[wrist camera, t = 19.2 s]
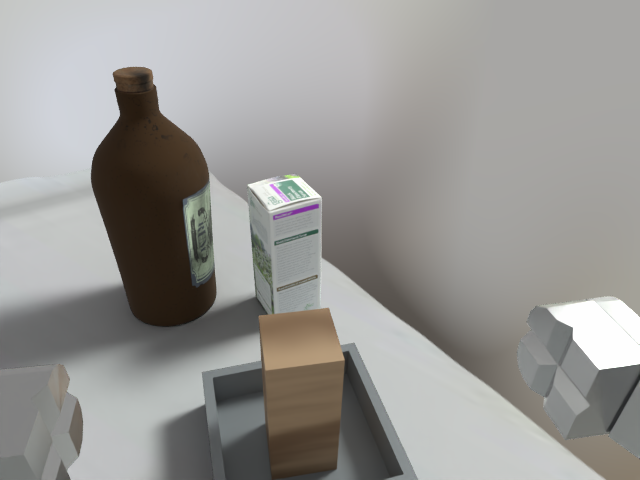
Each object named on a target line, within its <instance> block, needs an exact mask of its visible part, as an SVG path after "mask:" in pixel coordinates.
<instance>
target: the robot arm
mask: <svg viewBox="0 0 640 480" xmlns="http://www.w3.org/2000/svg"><path fill="white" fill-rule="evenodd" d="M527 323H528V325H529V327H530V329H531V330H530V331H529V332H528V333H527V334H526V335H525V336H524V337H523V338H522V339H521V340H520V343H519V347H518V350H517V358H518V367H519V369H520V372H521V374H522V377H523V379H524V380H525V382H526V383H527V385H528V386H529V388H530V389H531V390H533V391H535V392H536V393H538V394H540V395H542V396H543V397H544V410H545V411H546V413H547V414H548V416H549V417H550V419H551V420H552V422H553V423H554V425H555V426H556V428H557V429H558V431H559V432H560V433H561V435H562V436H563V438H564V439H565V440H568V439H575V438H582V437H589V436H596V435H603V434H609V436H608V437H610V438H611V439H613V440H614V441H615V442H617V443H618V444H620V445H621V446H622V447H624V448H625V449H626V450H628V451H629V452H630V453H632V454H633V455H635V456H636V457H637V458H639V459H640V318H639V317H638V316H637V315H636V314H635V313H634V312H633V311H632V310H630V308H628V306H626V305H625V304H624V303H623V302H622V301H621V300H619V299H617V298H615V297H612V296H608V297H600V298H592V299H586V300H577V301H570V302H562V303H555V304H547V305H539V306H536V307H535V308H534V309H533V310H532V311H531V312H530V314H529V317H528V319H527ZM69 381H70V378H69V376H68V374H67V371H66V369H65V367H64V365H60V364H52V365H42V366H32V367H21V368H11V369H1V370H0V480H70V477H69V475H68V473H67V469H68V468H69V467H70V466H71V465H72V464H73V463H74V461H75V460H76V459H77V458H78V457H79V453H80V448H81V444H82V435H83V418H82V412H81V407H80V404H79V402H78V399H77V398H76V397H74V396H73V395H71V394H69V393H68V392H67V388H68V385H69Z"/></svg>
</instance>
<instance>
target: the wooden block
mask: <svg viewBox="0 0 640 480" xmlns="http://www.w3.org/2000/svg"><path fill="white" fill-rule="evenodd" d="M259 330H260V346H261V362H262V378H263V394H264V410H265V425H266V434H267V442H268V451H269V460H270V469H271V478H272V480H276V479H281V478H287V477H293V476H299V475H305V474H311V473H317V472H323V471H329V470H335V469H337V461H338V447H339V433H340V420H341V406H342V392H343V378H344V364H345V359H344V356H343V353H342V349H341V346H340V343H339V340H338V336H337V333H336V330H335V327H334V323H333V320H332V317H331V313H330V310H329V308H323V309H314V310H305V311H296V312H287V313H278V314H269V315H260V316H259Z"/></svg>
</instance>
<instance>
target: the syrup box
mask: <svg viewBox="0 0 640 480" xmlns="http://www.w3.org/2000/svg"><path fill="white" fill-rule="evenodd" d="M247 189H248V204H249V217H250V229H251V241H252V254H253V267H254V279H255V291H256V297H257V299H258V300H259V302H260V303H261V305H262V306H263V308H264V309H265V311H266V313H267V314H268V315H269V314H278V313H287V312H296V311H305V310H314V309H320V302H321V230H322V229H321V227H322V226H321V225H322V224H321V223H322V198H321V196H320V195H318V194H317V193H316V192H315V191H314V190H313V189H312V188H311V187H310V186H309V185H308V184H306V183H305V182H304V181H303V180H302V179H301V178H300V177H299V176H298V175H297V174H292V175H286V176H279V177H274V178H270V179H266V180H263V181H259V182H256V183H253V184H248V187H247Z"/></svg>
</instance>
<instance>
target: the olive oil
mask: <svg viewBox="0 0 640 480" xmlns="http://www.w3.org/2000/svg"><path fill="white" fill-rule="evenodd" d="M113 77H114V81H115V82H116V88H115V93H116V97H117V102H118V106H119V110H120V117H119V119H118V121H117V122H116V123H115V125H114V126H113V128H112V129H111V130H110V132H109V133H108V134H107V136H106V137H105V138H104V140H103V141H102V142H101V144H100V145H99V147H98V148H97V150H96V152H95V154H94V157H93V161H92V169H91V183H92V188H93V191H94V195H95V198H96V201H97V204H98V207H99V210H100V213H101V216H102V218H103V221H104V224H105V227H106V231H107V234H108V237H109V240H110V243H111V246H112V249H113V252H114V255H115V258H116V262H117V265H118V268H119V271H120V274H121V278H122V281H123V284H124V288H125V291H126V295H127V298H128V302H129V305H130V308H131V311H132V312H133V314H134V315H135V316H136V317H137V318H138V319H139V320H141V321H142V322H145V323H147V324H151V325H155V326H174V325H180V324H184V323H187V322H190V321H192V320H194V319H196V318H198V317H200V316H201V315H203V314H204V313H205V312H206V311H207V310H208V309H209V308H210V307H211V306H212V305H213V303H214V301H215V298H216V279H215V268H214V253H213V237H212V220H211V202H210V182H209V172H208V167H207V163H206V161H205V158H204V156H203V154H202V152H201V150H200V148H199V146H198V145H197V144H196V142H195V141H194V140H193V139H192V138H191V137H190V136H188V135H187V134H186V133H185V132H184V131H182V130H181V129H180V128H178V127H177V126H176V125H175V124H173V123H172V122H171V121H169V120H168V119H167V118H166V117H164V116H163V115H162V114H161V113H160V111H159V105H158V97H157V91H156V86H155V85H154V84H153V75H152V71H151V70H150V69H148V68H144V67H127V68H122V69H118V70H116V71H115V72H113Z"/></svg>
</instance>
